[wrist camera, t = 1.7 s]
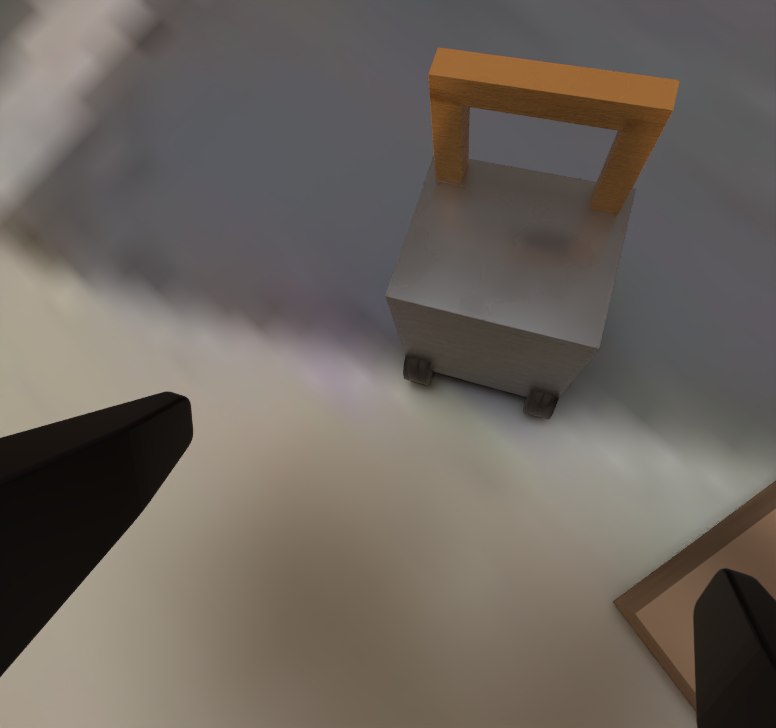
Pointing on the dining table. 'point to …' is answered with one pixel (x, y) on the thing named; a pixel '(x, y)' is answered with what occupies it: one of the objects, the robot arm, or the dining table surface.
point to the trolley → (519, 228)
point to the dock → (700, 584)
